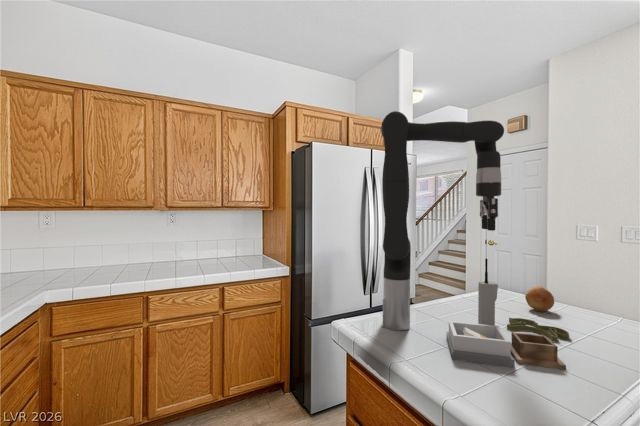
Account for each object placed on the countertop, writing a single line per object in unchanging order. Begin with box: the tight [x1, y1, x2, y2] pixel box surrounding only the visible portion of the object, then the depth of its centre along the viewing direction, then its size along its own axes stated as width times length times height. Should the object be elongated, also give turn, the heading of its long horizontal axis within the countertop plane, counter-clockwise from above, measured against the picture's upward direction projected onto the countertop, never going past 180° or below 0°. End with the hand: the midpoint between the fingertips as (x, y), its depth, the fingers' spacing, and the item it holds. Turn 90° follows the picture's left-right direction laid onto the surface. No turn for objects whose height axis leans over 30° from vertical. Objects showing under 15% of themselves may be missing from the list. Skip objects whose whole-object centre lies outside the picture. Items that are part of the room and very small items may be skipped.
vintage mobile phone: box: [477, 258, 499, 326], centre depth 102 cm, size 4×5×25 cm
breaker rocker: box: [463, 327, 487, 338], centre depth 88 cm, size 7×4×2 cm, turn 73°
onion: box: [524, 285, 555, 313], centre depth 125 cm, size 10×10×10 cm
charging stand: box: [511, 331, 567, 370], centre depth 85 cm, size 11×11×5 cm
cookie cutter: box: [506, 317, 570, 343], centre depth 103 cm, size 18×12×2 cm, turn 41°
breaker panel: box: [446, 320, 516, 368], centre depth 88 cm, size 15×15×6 cm
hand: (488, 229), depth 102 cm, fingers open, 8 cm apart
